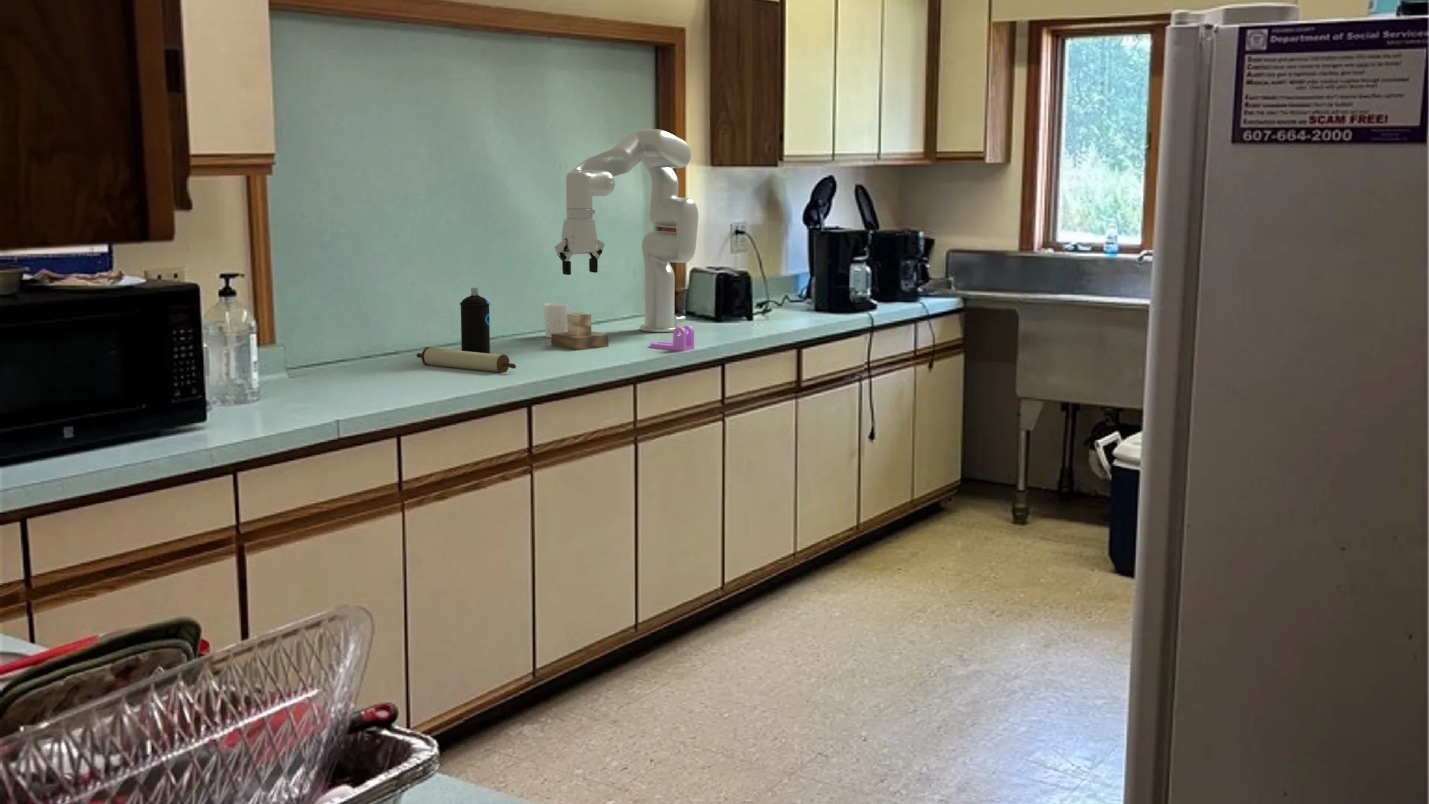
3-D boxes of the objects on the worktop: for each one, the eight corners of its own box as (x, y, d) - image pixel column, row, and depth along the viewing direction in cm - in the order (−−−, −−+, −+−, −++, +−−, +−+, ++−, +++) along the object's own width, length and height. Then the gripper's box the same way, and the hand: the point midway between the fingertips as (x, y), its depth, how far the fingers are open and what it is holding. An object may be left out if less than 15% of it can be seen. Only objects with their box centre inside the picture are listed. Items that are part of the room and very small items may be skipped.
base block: (583, 343, 414) (583, 330, 413) (608, 348, 406) (608, 334, 405) (551, 347, 406) (551, 333, 405) (575, 351, 398) (575, 338, 397)
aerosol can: (465, 363, 371) (464, 290, 367) (456, 359, 378) (455, 286, 375) (495, 361, 375) (494, 288, 371) (485, 357, 382) (484, 285, 378)
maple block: (581, 332, 409) (580, 312, 408) (591, 334, 405) (591, 314, 404) (567, 333, 405) (567, 313, 404) (577, 335, 402) (577, 315, 401)
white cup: (571, 335, 428) (571, 303, 426) (566, 338, 420) (566, 306, 418) (546, 334, 428) (546, 302, 427) (540, 338, 421) (540, 305, 419)
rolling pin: (410, 365, 368) (410, 347, 367) (423, 362, 373) (423, 344, 372) (509, 376, 354) (509, 357, 353) (521, 373, 359) (521, 354, 358)
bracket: (694, 349, 404) (694, 325, 402) (683, 351, 399) (684, 327, 398) (657, 345, 410) (657, 322, 409) (646, 347, 406) (646, 324, 404)
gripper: (595, 212, 407) (595, 270, 410) (547, 215, 396) (548, 274, 399) (610, 214, 402) (611, 272, 405) (563, 216, 390) (564, 276, 394)
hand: (580, 273), depth 402 cm, fingers open, 9 cm apart
